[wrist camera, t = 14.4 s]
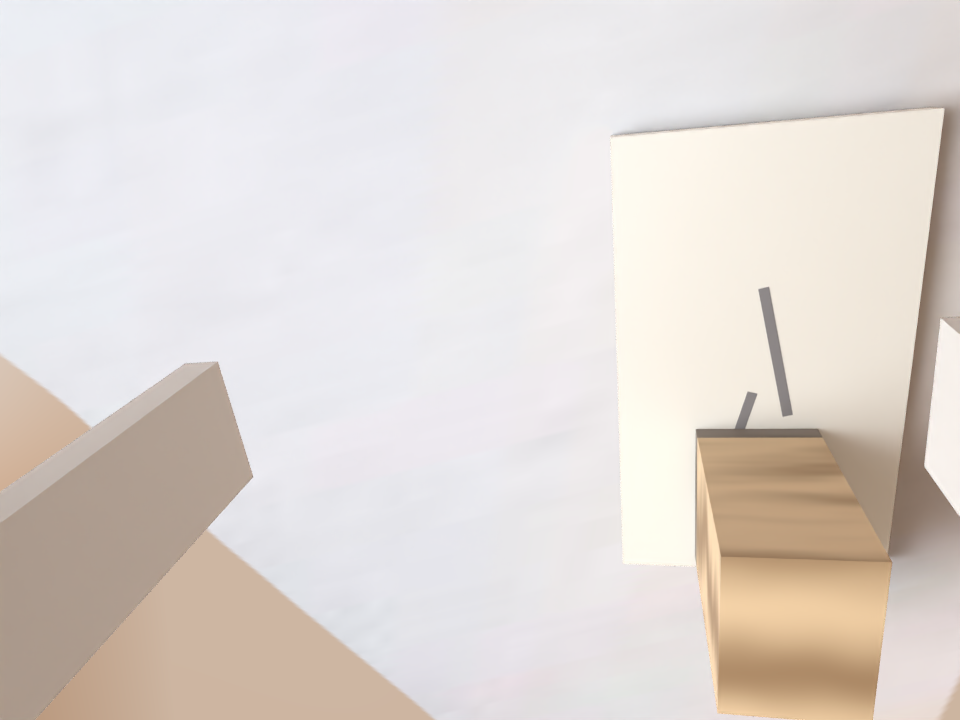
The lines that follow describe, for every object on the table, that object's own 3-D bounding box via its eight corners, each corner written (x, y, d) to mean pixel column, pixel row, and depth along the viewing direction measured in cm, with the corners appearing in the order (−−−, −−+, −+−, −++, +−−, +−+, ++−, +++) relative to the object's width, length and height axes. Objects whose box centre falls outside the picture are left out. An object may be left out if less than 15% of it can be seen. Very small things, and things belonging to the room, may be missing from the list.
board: (611, 135, 34) (610, 137, 33) (930, 107, 31) (944, 108, 30) (623, 548, 42) (623, 564, 41) (876, 557, 39) (885, 574, 38)
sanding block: (695, 429, 37) (721, 556, 27) (817, 428, 36) (891, 562, 26) (694, 554, 40) (717, 713, 30) (808, 558, 38) (871, 725, 28)
